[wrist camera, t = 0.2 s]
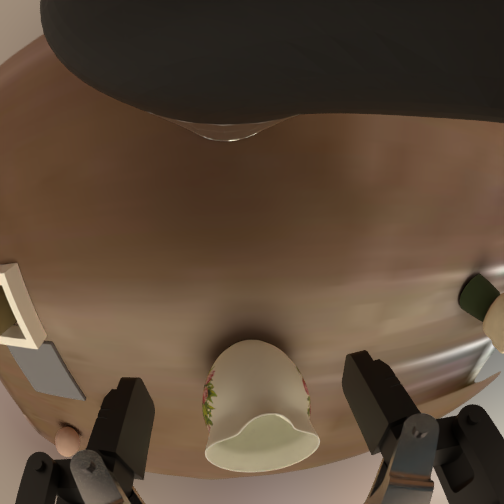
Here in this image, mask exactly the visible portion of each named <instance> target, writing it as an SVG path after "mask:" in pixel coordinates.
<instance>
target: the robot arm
mask: <svg viewBox="0 0 504 504" xmlns="http://www.w3.org/2000/svg"><path fill="white" fill-rule="evenodd" d="M40 13H41V23H42V27H43V32H44V35H45V37H46V39H47V42H48V44H49V46H50V47H51V49H52V50H53V52H54V53H55V55H56V56H57V58H58V59H59V60H60V61H61V62H62V63H63V64H64V65H65V67H66V68H67V69H68V70H69V71H71V72H72V73H73V74H74V75H76V76H77V77H78V78H79V79H81V80H82V81H83V82H85V83H87V84H88V85H90V86H92V87H93V88H95V89H96V90H98V91H100V92H102V93H104V94H106V95H108V96H111V97H113V98H115V99H117V100H119V101H121V102H124V103H126V104H129V105H131V106H134V107H136V108H139V109H141V110H144V111H147V112H149V113H151V114H153V115H156V116H158V117H160V118H163V119H165V120H167V121H170V122H172V123H175V124H177V125H179V126H181V127H183V128H186V129H188V130H190V131H192V132H194V133H196V134H198V135H201V136H203V137H204V138H207V139H211V140H212V139H213V140H216V141H235V140H240V139H244V138H247V137H250V136H252V135H254V134H256V133H258V132H260V131H262V130H264V129H266V128H269V127H271V126H273V125H276V124H278V123H280V122H282V121H285V120H287V119H290V118H292V117H294V116H297V115H299V114H316V113H357V114H383V115H403V116H420V117H434V118H451V119H465V120H479V121H490V122H499V123H504V0H41V2H40ZM342 387H343V392H344V394H345V397H346V399H347V401H348V403H349V405H350V408H351V410H352V412H353V414H354V416H355V419H356V421H357V423H358V425H359V428H360V430H361V432H362V434H363V436H364V439H365V441H366V443H367V446H368V448H369V450H370V452H371V455H374V454H376V453H379V452H381V454H382V456H383V459H382V462H381V465H380V467H379V470H378V473H377V475H376V478H375V481H374V483H373V485H372V488H371V490H370V492H369V495H368V497H367V499H366V501H365V503H364V504H430V501H431V497H432V493H433V489H434V482H433V481H432V480H431V478H430V477H431V472H432V468H433V467H434V469H435V471H436V474H437V476H438V478H439V480H440V483H441V485H442V488H443V490H444V492H445V495H446V497H447V500H448V502H449V504H504V439H503V437H502V435H501V434H500V432H499V430H498V429H497V427H496V426H495V424H494V423H493V421H492V420H491V418H490V417H489V415H488V414H487V413H486V411H485V410H484V409H483V408H482V407H480V406H478V405H473V404H472V405H467V406H465V407H464V408H462V409H461V411H460V412H459V414H458V415H457V416H452V417H446V418H441V419H435V418H434V417H432V416H431V415H428V414H425V413H421V412H420V411H419V410H418V408H417V407H416V405H415V404H414V402H413V401H412V399H411V398H410V396H409V395H408V393H407V392H406V390H405V389H404V387H403V386H402V384H400V381H399V380H398V378H397V377H396V376H395V374H394V372H393V371H392V369H391V368H390V366H389V365H387V364H386V363H384V362H383V361H381V360H380V359H378V360H375V361H373V359H372V358H371V356H370V355H369V353H368V352H367V351H366V350H363V351H359V352H355V353H351V354H348V355H347V356H346V360H345V366H344V372H343V378H342ZM154 415H155V408H154V403H153V401H152V399H151V397H150V395H149V393H148V391H147V389H146V387H145V385H144V383H143V381H142V379H141V378H130V377H122V378H121V379H120V381H119V384H118V387H117V389H112V390H111V391H110V392H109V393H108V394H107V395H106V396H105V398H104V400H103V402H102V405H101V410H100V411H99V413H98V418H97V419H96V422H95V425H94V427H93V430H92V433H91V436H90V439H89V442H88V445H87V448H86V450H81V451H79V452H77V453H76V454H75V455H74V456H73V457H72V459H64V460H53V459H52V458H51V457H50V456H49V455H47V454H46V453H44V452H36V453H34V454H32V455H31V456H30V457H29V459H28V460H27V463H26V466H25V469H24V473H23V476H22V479H21V483H20V487H19V491H18V494H17V498H16V503H15V504H55V499H56V496H58V497H57V502H56V504H145V503H144V501H143V500H142V498H141V497H140V495H139V494H138V493H137V491H136V489H135V488H134V486H133V480H134V479H140V480H143V479H144V473H145V467H146V460H147V454H148V448H149V442H150V437H151V431H152V426H153V421H154Z"/></svg>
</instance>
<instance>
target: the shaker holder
mask: <svg viewBox="0 0 504 504" xmlns="http://www.w3.org/2000/svg"><path fill="white" fill-rule="evenodd" d="M0 285H2V287H3V290H4V292H5V295H6V297H7V300H8V302H9V305H10V307H11V309H12V311H13V314H14V316H15V318H16V320H17V322H18V324H19V326H17V325H12V326H11V327H10V328H9V329H8V330H6V331H5V332H4V333H3V334H2V335H1V336H0V344H4V345H10V346H17V347H24V348H31V349H39V347H40V346H41V344H42V343H43V342H44V340H45V339H46V337H47V334H46V332H45V330H44V328H43V326H42V324H41V322H40V320H39V318H38V315H37V313H36V311H35V308H34V306H33V304H32V301H31V299H30V296H29V294H28V291H27V289H26V286H25V283H24V281H23V278H22V275H21V272H20V269H19V266H18V263H12V264H4V265H0Z"/></svg>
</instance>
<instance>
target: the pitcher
mask: <svg viewBox="0 0 504 504" xmlns="http://www.w3.org/2000/svg"><path fill="white" fill-rule="evenodd" d="M202 407H203V416H204V420H205V423H206V426H207V429H208V431H209V438H208V442H207V445H206V449H205V456H206V458H207V459H208V461H209V462H211V463H212V464H214V465H216V466H218V467H220V468H223V469H227V470H231V471H238V472H264V471H271V470H276V469H281V468H284V467H287V466H290V465H293V464H295V463H298V462H300V461H302V460H304V459H305V458H307V457H308V456H310V455H311V454H312V453H314V452H315V450H316V449H317V448H318V446H319V444H320V439H319V436H318V434H317V433H316V431H315V430H314V428H313V426H312V424H311V423H310V410H311V406H310V397H309V392H308V389H307V386H306V383H305V381H304V379H303V377H302V375H301V373H300V372H299V370H298V368H297V367H296V365H295V364H294V363H293V362H292V361H291V359H290V358H289V357H288V356H287V355H286V354H285V353H284V352H283V351H281V350H280V349H278V348H277V347H275V346H274V345H271V344H269V343H266V342H264V341H260V340H244V341H240V342H238V343H235V344H233V345H232V346H230V347H229V348H228V349H226V350H225V351H224V352H223V353H221V355H220V356H219V357H218V358H217V359H216V361H215V362H214V364H213V366H212V368H211V370H210V372H209V374H208V377H207V379H206V382H205V386H204V392H203V400H202Z"/></svg>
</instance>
